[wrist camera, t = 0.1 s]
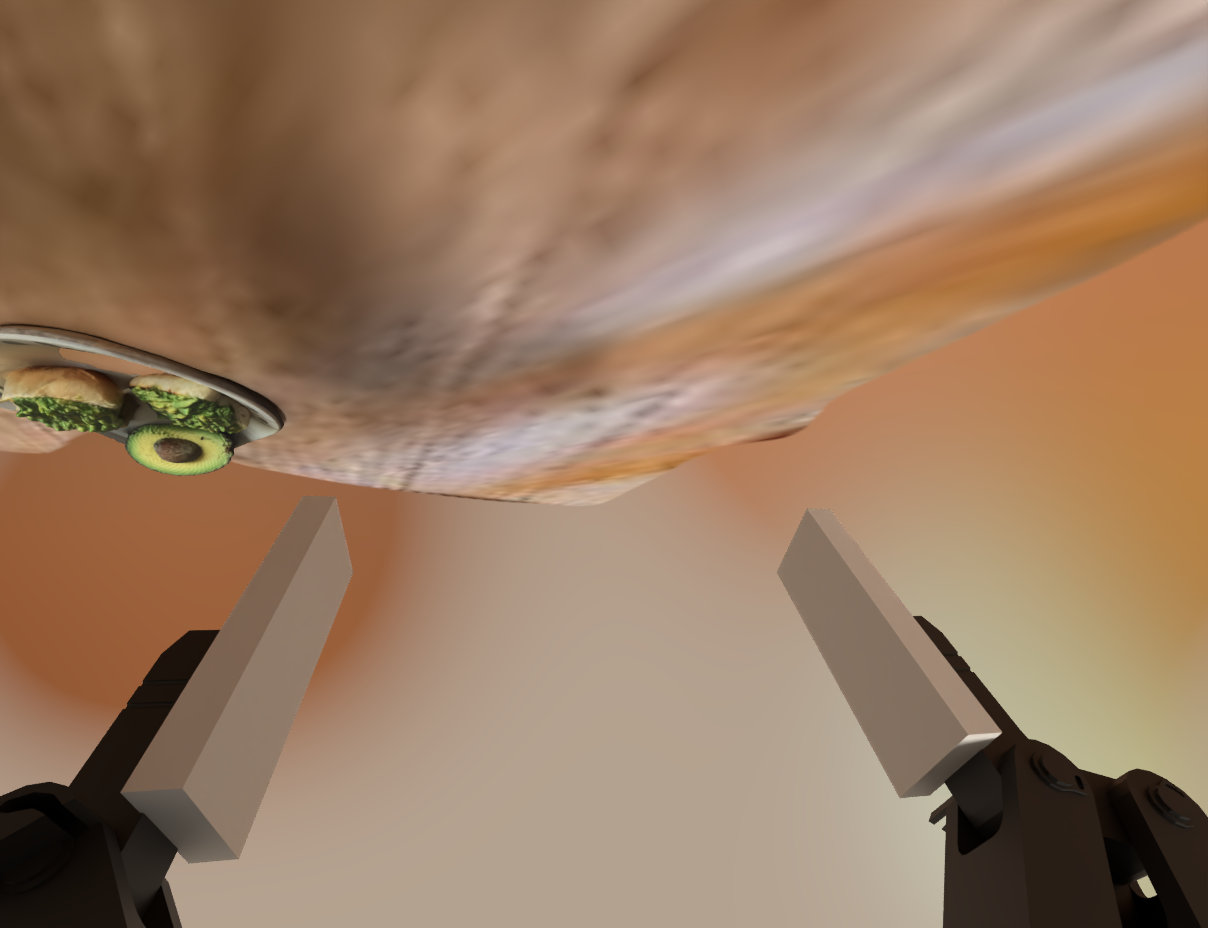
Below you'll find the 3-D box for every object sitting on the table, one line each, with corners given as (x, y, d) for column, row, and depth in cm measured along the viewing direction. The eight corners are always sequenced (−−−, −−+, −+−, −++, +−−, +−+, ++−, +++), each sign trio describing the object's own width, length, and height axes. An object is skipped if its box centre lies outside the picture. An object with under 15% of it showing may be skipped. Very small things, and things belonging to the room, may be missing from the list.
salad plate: (-146, 353, 31) (-182, 418, 30) (-70, 253, 24) (-114, 335, 22) (201, 446, 48) (189, 491, 46) (314, 405, 40) (304, 457, 38)
